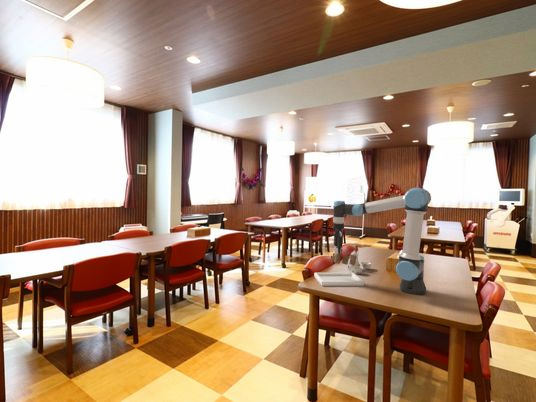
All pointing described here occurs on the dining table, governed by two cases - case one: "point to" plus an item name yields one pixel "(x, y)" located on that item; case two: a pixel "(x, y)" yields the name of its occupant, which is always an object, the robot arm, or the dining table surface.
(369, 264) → the chinaware
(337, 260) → the wooden block set
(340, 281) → the pocket tray
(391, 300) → the dining table surface
